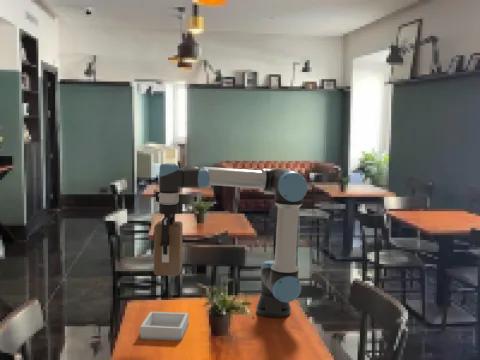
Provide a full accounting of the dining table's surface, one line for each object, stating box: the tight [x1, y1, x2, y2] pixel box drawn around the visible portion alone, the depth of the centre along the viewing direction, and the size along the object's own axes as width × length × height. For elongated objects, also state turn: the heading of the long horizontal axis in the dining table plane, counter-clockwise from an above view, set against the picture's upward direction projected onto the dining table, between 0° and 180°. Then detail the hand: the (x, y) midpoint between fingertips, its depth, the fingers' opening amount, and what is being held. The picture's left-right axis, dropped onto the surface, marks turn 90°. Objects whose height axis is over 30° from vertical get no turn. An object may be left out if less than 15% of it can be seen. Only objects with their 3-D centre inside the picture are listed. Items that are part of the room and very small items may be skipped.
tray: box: [139, 311, 190, 342], centre depth 217 cm, size 16×16×5 cm
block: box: [153, 220, 183, 277], centre depth 213 cm, size 10×10×20 cm
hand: (168, 258), depth 213 cm, fingers closed on block, 10 cm apart
